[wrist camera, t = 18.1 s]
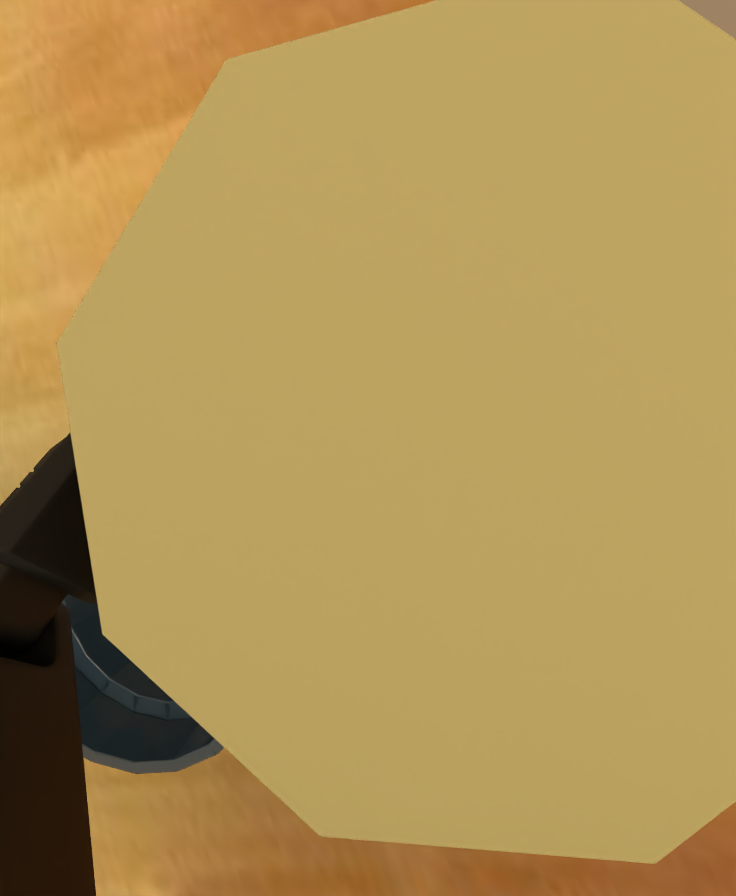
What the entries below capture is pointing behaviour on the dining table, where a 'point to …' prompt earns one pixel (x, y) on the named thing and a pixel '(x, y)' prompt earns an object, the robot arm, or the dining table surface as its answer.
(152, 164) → the dining table surface
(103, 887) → the dining table surface
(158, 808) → the dining table surface
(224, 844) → the dining table surface
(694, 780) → the jar
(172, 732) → the grey round bowl
